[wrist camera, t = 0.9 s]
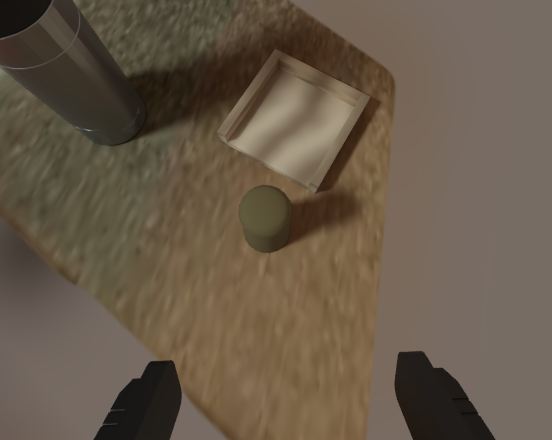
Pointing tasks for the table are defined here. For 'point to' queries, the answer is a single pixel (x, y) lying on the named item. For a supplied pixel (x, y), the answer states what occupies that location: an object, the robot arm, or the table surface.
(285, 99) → the beige square tray
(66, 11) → the robot arm
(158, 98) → the table surface
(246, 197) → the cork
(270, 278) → the table surface
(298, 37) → the table surface
